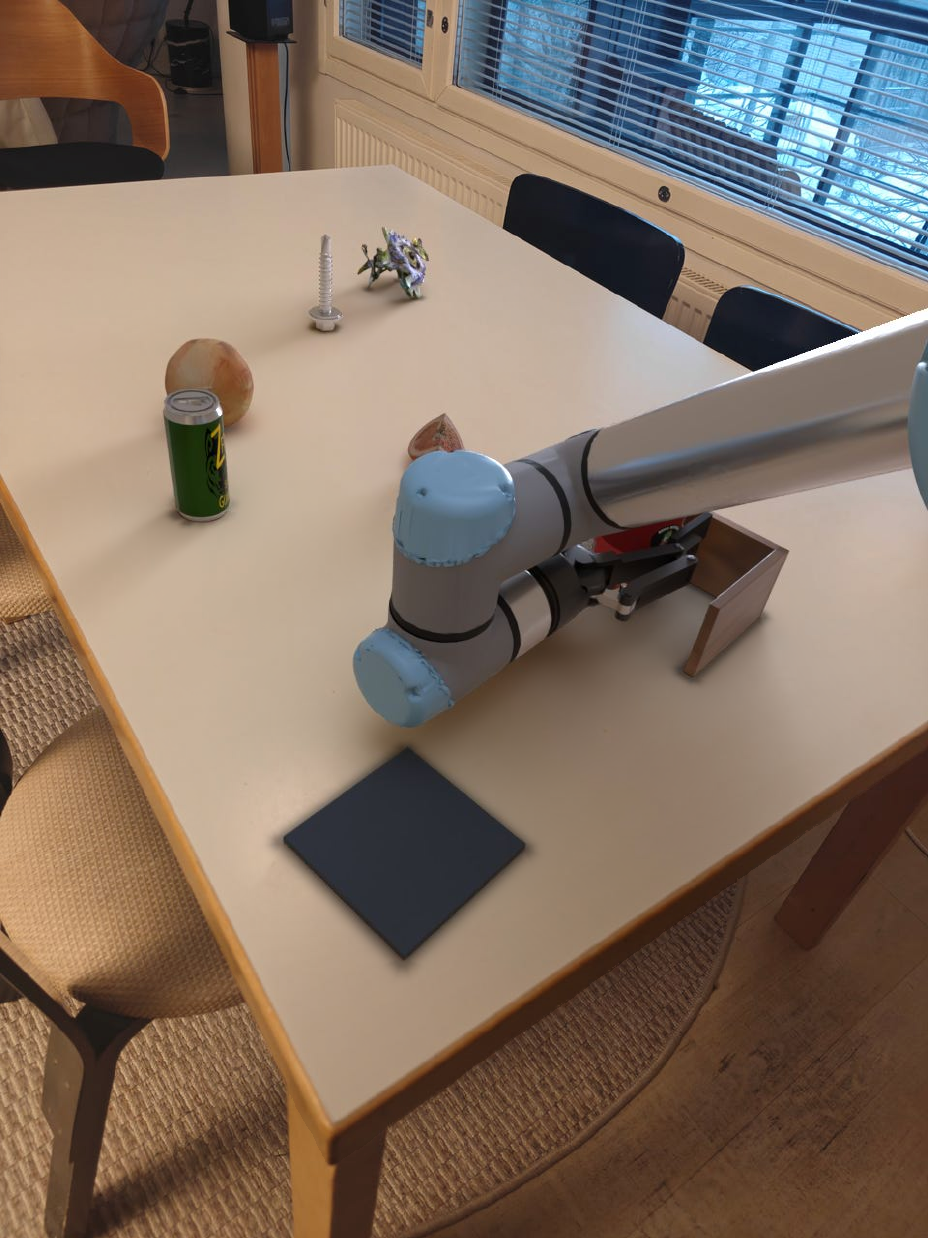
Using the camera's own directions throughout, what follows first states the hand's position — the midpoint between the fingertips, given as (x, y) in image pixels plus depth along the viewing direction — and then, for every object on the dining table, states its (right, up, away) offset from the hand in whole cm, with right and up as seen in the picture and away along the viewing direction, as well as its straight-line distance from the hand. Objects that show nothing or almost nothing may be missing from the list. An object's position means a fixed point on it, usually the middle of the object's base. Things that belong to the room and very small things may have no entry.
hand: (667, 504), depth 84 cm
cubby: (-4, -8, +2) cm, 9 cm away
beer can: (-47, 0, +4) cm, 47 cm away
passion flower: (-32, +41, +55) cm, 75 cm away
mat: (-24, -27, -23) cm, 43 cm away
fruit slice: (-23, +6, +15) cm, 28 cm away
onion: (-49, +12, +18) cm, 54 cm away
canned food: (-4, -7, +1) cm, 8 cm away
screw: (-40, +31, +41) cm, 66 cm away
